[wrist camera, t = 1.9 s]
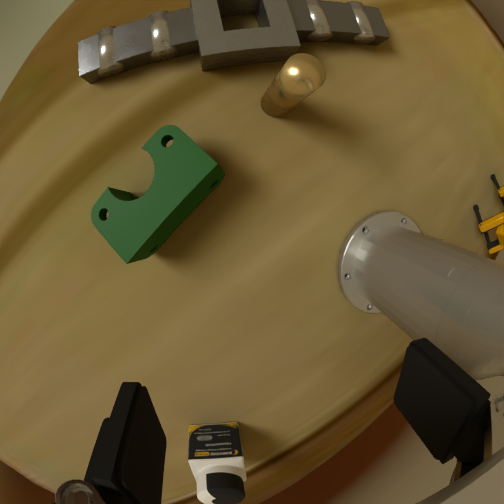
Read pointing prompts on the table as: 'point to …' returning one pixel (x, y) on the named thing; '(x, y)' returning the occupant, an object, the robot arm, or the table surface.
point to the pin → (293, 84)
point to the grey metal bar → (228, 34)
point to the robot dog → (493, 223)
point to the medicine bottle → (217, 462)
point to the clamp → (157, 196)
